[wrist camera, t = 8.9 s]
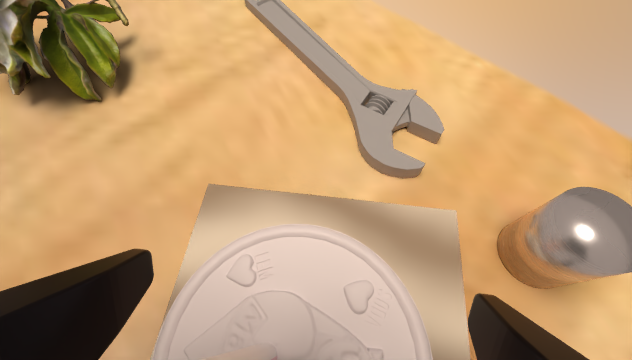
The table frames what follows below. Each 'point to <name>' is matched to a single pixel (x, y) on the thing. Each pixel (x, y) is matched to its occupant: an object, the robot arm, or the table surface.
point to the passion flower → (59, 43)
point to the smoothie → (294, 303)
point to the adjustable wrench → (357, 94)
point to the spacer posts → (569, 240)
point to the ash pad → (366, 227)
